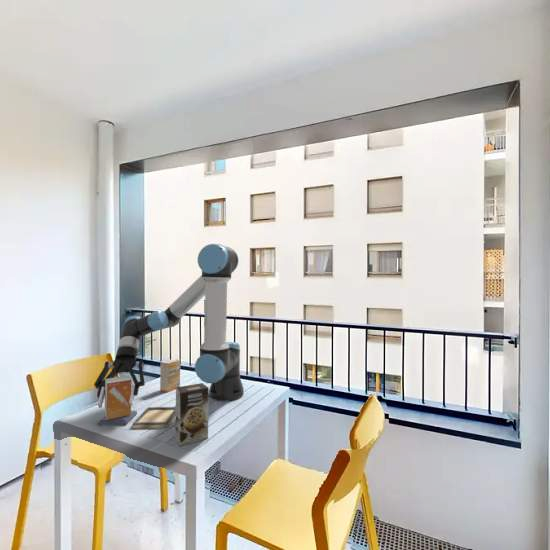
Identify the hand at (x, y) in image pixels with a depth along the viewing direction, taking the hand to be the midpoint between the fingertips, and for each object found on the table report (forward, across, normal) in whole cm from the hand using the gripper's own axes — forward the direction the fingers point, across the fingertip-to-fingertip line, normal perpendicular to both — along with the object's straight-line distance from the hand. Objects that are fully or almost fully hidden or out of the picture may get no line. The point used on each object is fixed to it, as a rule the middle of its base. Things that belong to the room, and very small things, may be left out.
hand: (115, 405), depth 111 cm
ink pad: (+2, 0, -7) cm, 7 cm away
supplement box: (-19, -14, -28) cm, 37 cm away
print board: (+4, -14, -5) cm, 15 cm away
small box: (+1, 0, -6) cm, 6 cm away
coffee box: (+16, -27, +7) cm, 32 cm away
